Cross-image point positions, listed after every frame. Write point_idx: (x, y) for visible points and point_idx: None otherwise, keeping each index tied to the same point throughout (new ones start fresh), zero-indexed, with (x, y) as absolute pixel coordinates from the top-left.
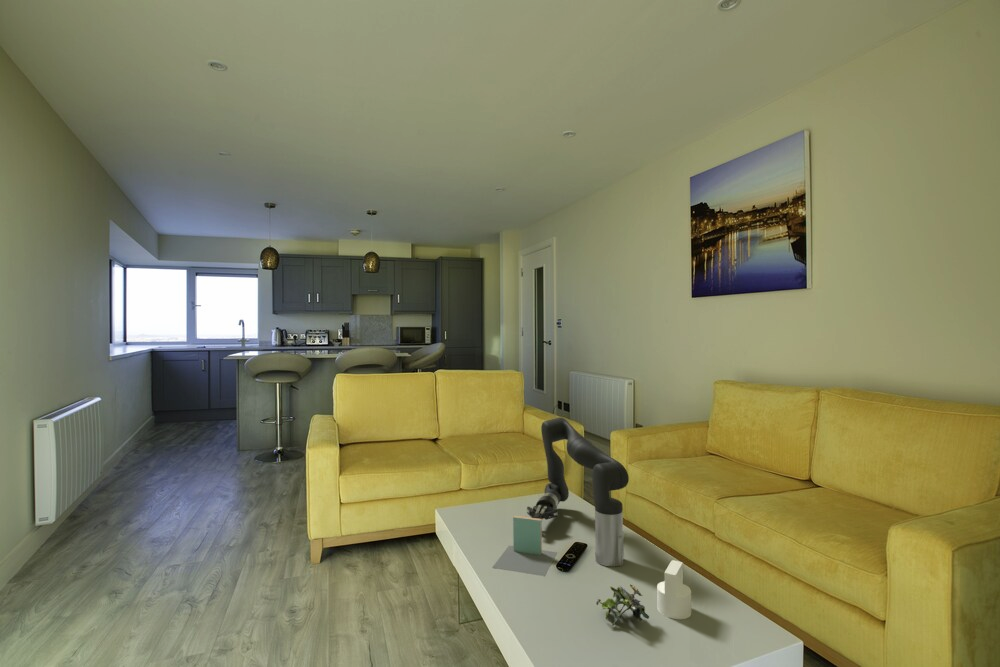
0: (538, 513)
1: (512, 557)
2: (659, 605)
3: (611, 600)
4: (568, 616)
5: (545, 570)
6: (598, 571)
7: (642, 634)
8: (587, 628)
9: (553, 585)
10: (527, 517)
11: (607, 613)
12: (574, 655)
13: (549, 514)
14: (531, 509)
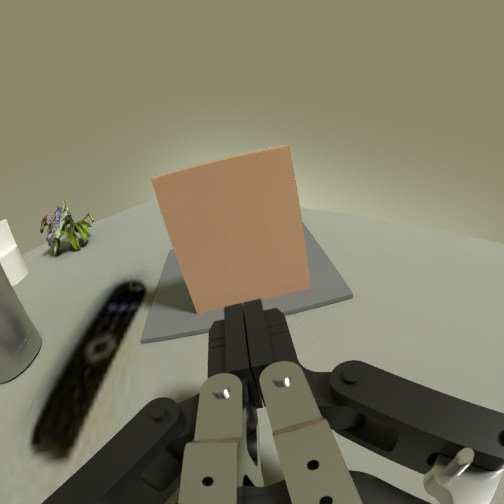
0: (252, 364)
1: None
2: (24, 263)
3: (74, 223)
4: (133, 224)
5: (170, 261)
6: (54, 310)
7: (64, 243)
8: (114, 225)
9: (152, 246)
10: (221, 160)
11: (87, 224)
12: (133, 207)
13: (147, 484)
14: (415, 408)
